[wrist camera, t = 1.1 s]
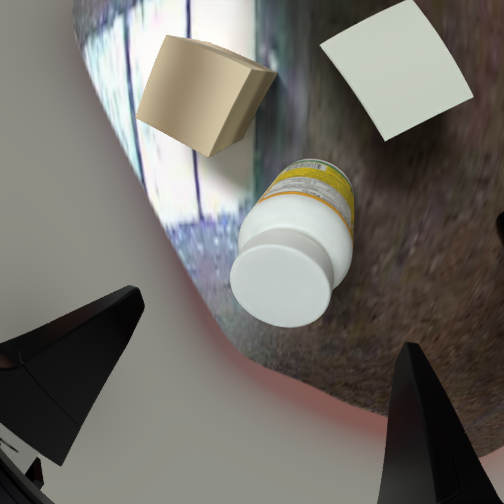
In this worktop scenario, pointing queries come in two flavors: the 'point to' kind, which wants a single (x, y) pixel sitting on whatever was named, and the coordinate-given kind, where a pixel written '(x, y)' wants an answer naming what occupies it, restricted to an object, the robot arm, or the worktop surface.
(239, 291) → the supplement bottle
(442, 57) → the white cube
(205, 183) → the worktop surface
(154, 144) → the worktop surface
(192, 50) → the maple block
